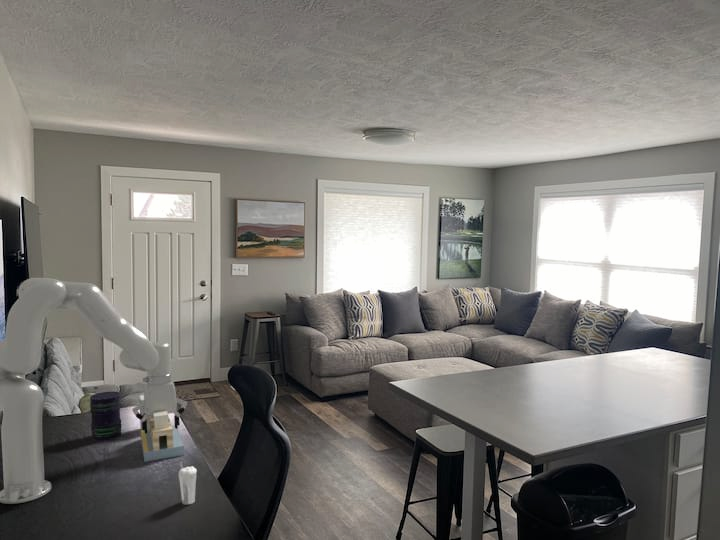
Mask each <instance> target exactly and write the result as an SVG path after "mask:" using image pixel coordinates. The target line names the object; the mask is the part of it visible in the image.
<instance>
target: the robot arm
mask: <svg viewBox="0 0 720 540" xmlns="http://www.w3.org/2000/svg"><path fill="white" fill-rule="evenodd" d="M17 294H18V298H17V300H16V301H15V302H14V304H12V306H11V308H10V309H9V312H8V315H7V320H6V328H5V336H4V337H5V338H2V339H0V411H2V413H3V414H2V421H1V428H0V432H1V433H0V434H1V435H0V436H1V437H0V439H1V451H2V453H1V455H2V472H3V473H2V475H3V476H2V477H3V489H2V490H0V503H2V504H6V505H7V504H8V505H14V504H22V503H26V502H31V501H34V500H36V499H39V498H42V497H43V496H45V495H47V494H48V493H49V492H50V491H51V490H52V483H51V481H48V480H45V465H44V464H45V462H44V458H45V457H44V443H43V442H44V440H43V439H44V438H43V411H44V404H45V403H44V402H45V396H44V392H43V390H42V389H41V387H40V386H39V385H38V384H37V383H36V382H34V381H31V380H29V379H26V376H27V375H29V374H31V373H33V372H36V370H37V369H38V367H39V366H40V364H41V360H42V359H41V358H42V336H43V335H42V334H43V326H44V322H45V319H46V317H47V315H48V314H49V313H50V312H51V311H52V310H53V309H58V310H59V309H60V310H75V311H77V312H78V313H80V315H81V316H82V317H83V318H84V320H85V321H86V322H87V323H88V325H90V326H91V328H92V329H93V330H94V331H95V332H96V333H97V334H98V336H100V337H102V338H104V340H107V341H109V342H110V343H113V344H115V345H116V346H118V347H120V348H121V349H122V350H121V351H120V353H119V357H118V358H119V362H120V363H121V365H122V366H123V367H126V368H128V369H133V370H137V371H141V372H146V376H145V377H142V382H143V383H146V384H145V386H144V390H143V391H144V394H143V395H144V402H143V403H141V404H140V403H139V404H137V405H136V406H134V407H133V408H132V409H131V410H132V412H133V414H134V415H135V417H136V418H137V419H139V420H141V421H142V430H141V431H145V434H146V433H147V420H146V419H147V417H148V416H153V413H156V412H164V411H167V413H168V415H169V414H173V416H174V417H173V418H174V419H173V420H174V421H173V423H174V426H175V429H178V426H180V417H181V415H182V414H183V413H184V411H185V410H186V407H187V405H188V401H186V400H183V399H181V398H178V397H177V393H176V386H175V382H174V381H172V364H171V363H172V362H171V345H170V344H169V343H168V342H166V341H159V342H158V341H157V342H155V341H154V342H151V341H150V340H149V339H148V337H147V336H146V335H145V334H143V332H142V331H140V330H139V329H138V328H136V327H135V326H134V325H133V324H132V323H131V322H130V321H128V320H127V319H125V318H124V317H123V316H122V314H121V313H120V312H119V311H118V310H117V308H116V306H114V305H113V304H112V302H111V301H110V299H108V297H107V296H106V295H105V294H104V292H103V291H102V290H101V289H100V288H99V287H98V286H97V285H96V284H93V283H90V282H79V281H78V282H75V281H65V280H64V281H63V280H59V279H56V278H50V277H30V278H27V279H26V280H24V281H22V283H20V285H19V287H18V290H17ZM178 404H179V405H181V407H180V408H179V409H177V407H178ZM143 407H144V412H145V413H144V414H143V415H141V414H140V409H141V408H143ZM178 430H179V429H178Z"/></svg>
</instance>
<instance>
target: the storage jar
mask: <svg viewBox="0 0 720 540" xmlns="http://www.w3.org/2000/svg"><path fill="white" fill-rule="evenodd" d="M93 389H98V386H95V387H94V388H93ZM89 399H90V400H89V403H90V404H89V408H90V409H89V410H90V414H91V423H90V432H91V440H92V441H94V442H106V441H108V442H109V441H112V440H116V439H118V438H120V437H121V436H122V419H121V407H122V406H121V404H122V403H121V402H122V401H121V393H120V392H119V391H104V392H103V391H102V392H97V393H94V394H92V395H90V396H89Z"/></svg>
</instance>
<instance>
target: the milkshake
mask: <svg viewBox="0 0 720 540" xmlns="http://www.w3.org/2000/svg"><path fill="white" fill-rule="evenodd" d="M179 465H180V467H181V468H180V470H179V471H178V479H179V480H178V481H179V488H180V495H181V503H182V504H183V505H184V506H185V505H188V506H189V505H192V504H194V503H195V502H196V482H197V472H198V471H197V468H195V466H193V465H192V466H186V467H184V466H183V462H182V461H180V462H179Z"/></svg>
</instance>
